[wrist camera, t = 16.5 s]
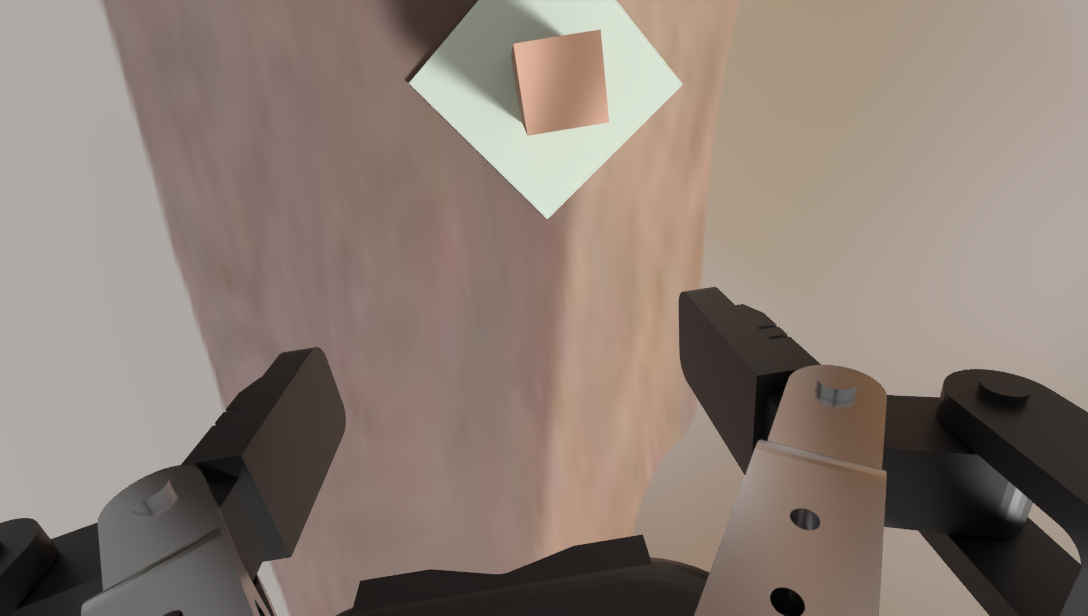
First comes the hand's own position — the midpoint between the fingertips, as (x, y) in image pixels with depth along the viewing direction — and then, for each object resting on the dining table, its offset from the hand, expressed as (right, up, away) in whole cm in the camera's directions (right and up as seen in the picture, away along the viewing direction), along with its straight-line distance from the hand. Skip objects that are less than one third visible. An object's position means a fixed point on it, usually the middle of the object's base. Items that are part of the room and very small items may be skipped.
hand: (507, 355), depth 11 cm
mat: (+1, +16, +23) cm, 28 cm away
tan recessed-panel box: (+1, +16, +23) cm, 28 cm away
